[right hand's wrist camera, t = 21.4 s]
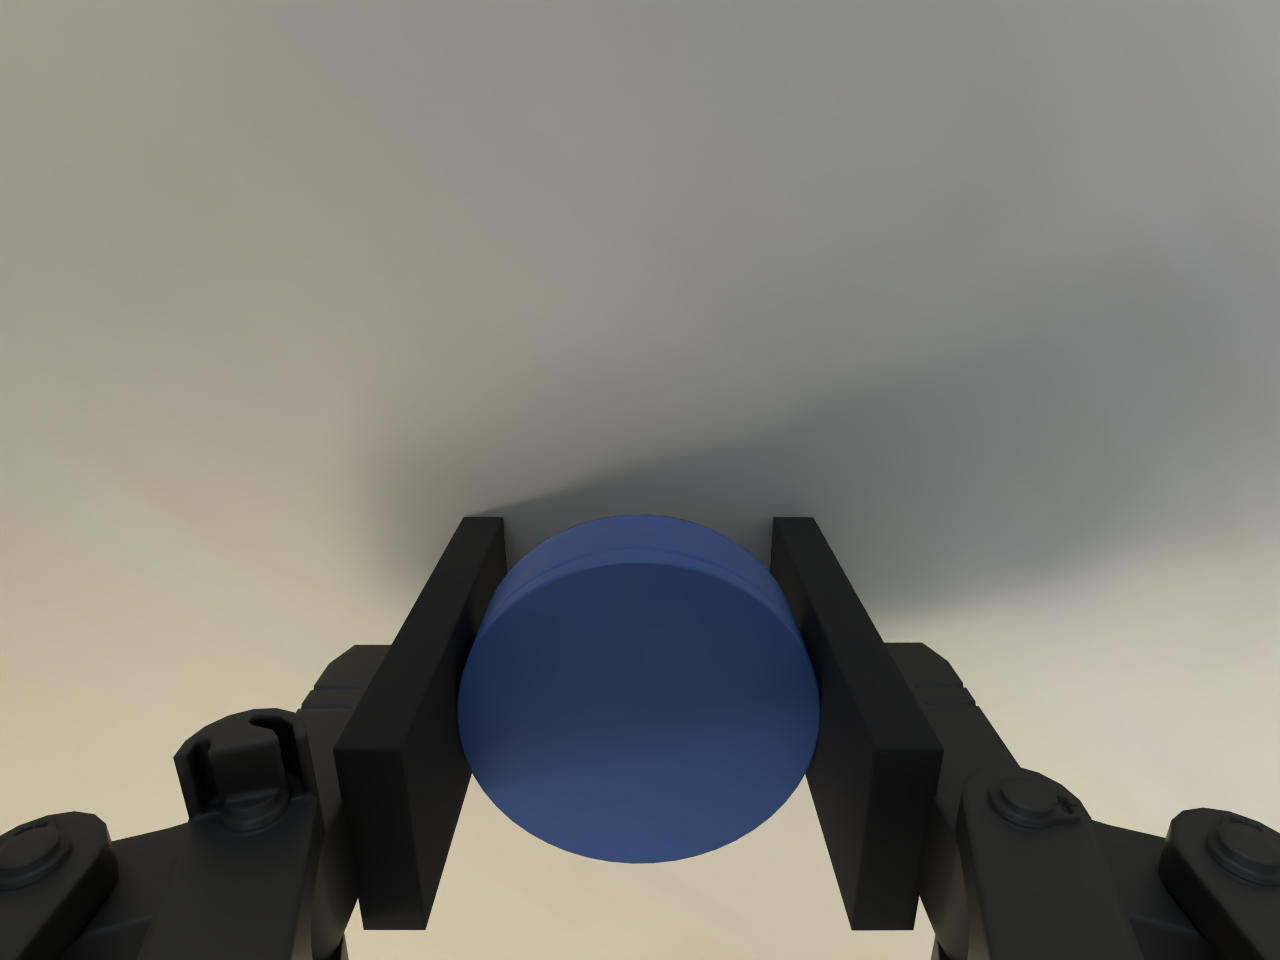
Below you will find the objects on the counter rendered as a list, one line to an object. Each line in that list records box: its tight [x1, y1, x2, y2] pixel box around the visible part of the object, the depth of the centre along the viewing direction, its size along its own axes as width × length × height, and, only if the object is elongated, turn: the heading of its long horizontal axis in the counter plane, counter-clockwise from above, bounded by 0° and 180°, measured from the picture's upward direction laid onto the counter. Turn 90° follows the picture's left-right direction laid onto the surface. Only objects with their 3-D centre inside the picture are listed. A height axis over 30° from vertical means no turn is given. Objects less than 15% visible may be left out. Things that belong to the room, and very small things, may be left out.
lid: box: [457, 515, 821, 863], centre depth 12 cm, size 5×5×2 cm
